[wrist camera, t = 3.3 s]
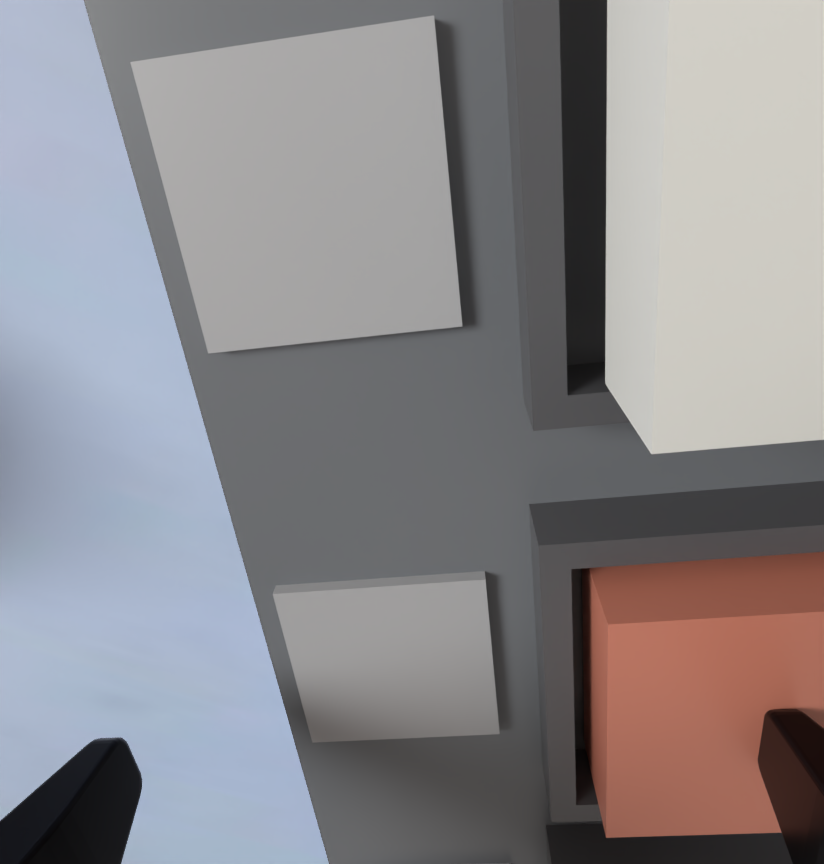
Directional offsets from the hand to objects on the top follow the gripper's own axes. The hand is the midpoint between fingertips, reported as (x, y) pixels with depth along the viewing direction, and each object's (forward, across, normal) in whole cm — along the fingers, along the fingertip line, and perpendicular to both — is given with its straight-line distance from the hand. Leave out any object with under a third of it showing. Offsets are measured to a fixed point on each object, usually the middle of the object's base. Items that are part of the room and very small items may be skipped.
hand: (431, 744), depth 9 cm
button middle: (+2, -4, 0) cm, 5 cm away
